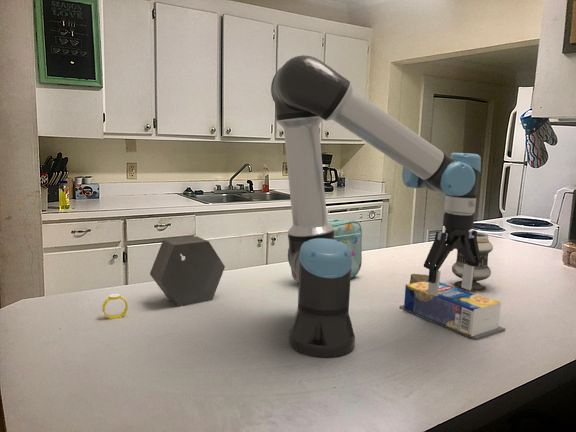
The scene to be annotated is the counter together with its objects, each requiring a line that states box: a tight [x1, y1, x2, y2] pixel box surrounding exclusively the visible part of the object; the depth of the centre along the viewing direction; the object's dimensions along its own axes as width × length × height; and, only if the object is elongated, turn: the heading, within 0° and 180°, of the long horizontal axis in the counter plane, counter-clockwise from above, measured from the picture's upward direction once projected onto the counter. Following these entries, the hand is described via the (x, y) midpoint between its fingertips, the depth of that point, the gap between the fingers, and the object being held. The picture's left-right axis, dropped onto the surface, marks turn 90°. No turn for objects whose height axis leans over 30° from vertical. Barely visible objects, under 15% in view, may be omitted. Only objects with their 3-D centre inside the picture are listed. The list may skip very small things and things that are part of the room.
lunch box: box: [290, 218, 363, 283], centre depth 159 cm, size 27×10×21 cm, turn 131°
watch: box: [102, 293, 129, 320], centre depth 122 cm, size 6×3×6 cm, turn 120°
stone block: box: [409, 273, 429, 284], centre depth 151 cm, size 6×12×5 cm, turn 1°
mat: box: [399, 304, 506, 341], centre depth 130 cm, size 12×25×1 cm, turn 33°
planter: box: [149, 235, 226, 307], centre depth 136 cm, size 17×8×21 cm
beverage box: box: [403, 281, 502, 336], centre depth 128 cm, size 7×11×22 cm
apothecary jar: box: [451, 231, 494, 293], centre depth 158 cm, size 12×12×18 cm
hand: (449, 291), depth 128 cm, fingers open, 13 cm apart
